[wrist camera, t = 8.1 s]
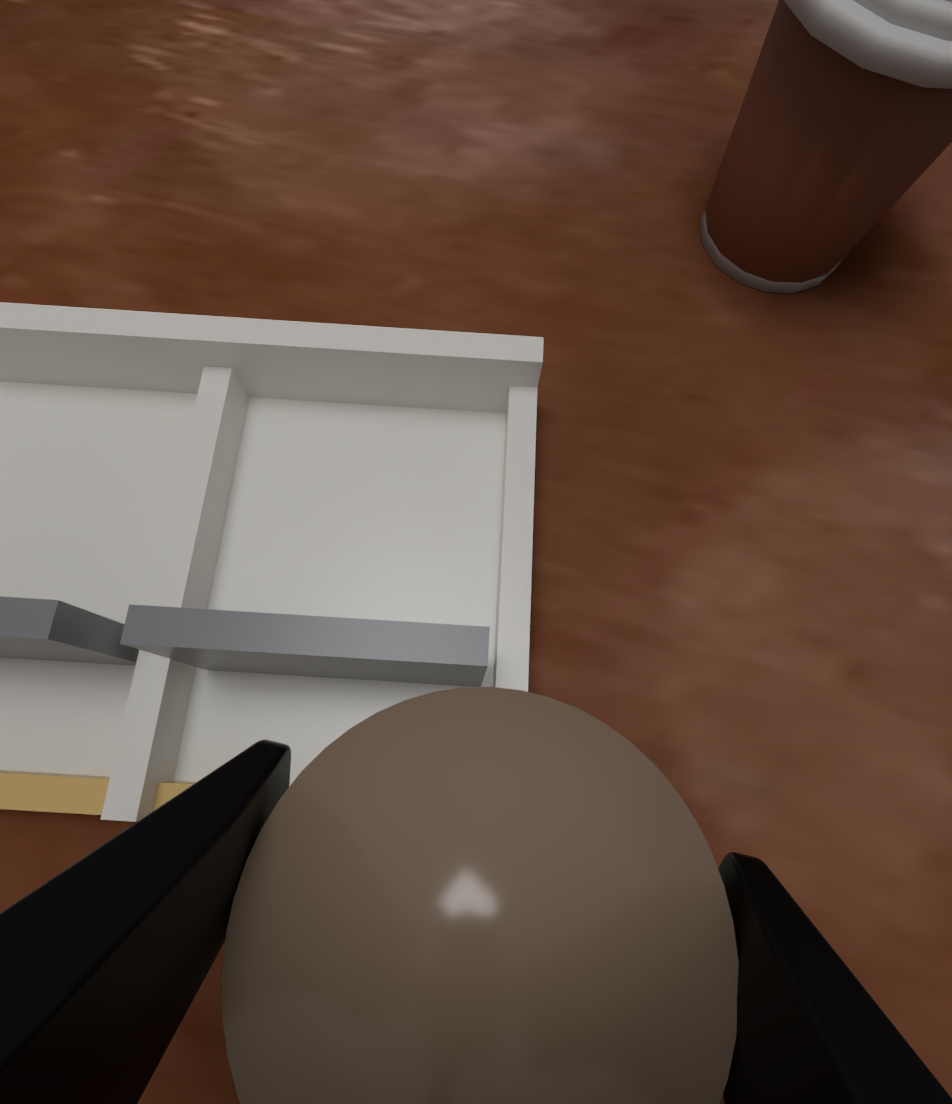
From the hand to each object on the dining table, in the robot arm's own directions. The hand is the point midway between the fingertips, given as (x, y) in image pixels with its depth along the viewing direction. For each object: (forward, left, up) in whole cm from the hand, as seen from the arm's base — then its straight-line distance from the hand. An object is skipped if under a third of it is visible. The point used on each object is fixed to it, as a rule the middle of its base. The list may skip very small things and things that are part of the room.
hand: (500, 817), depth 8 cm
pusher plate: (-3, +5, -12) cm, 13 cm away
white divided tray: (-6, +10, -12) cm, 17 cm away
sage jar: (-1, -1, -7) cm, 7 cm away
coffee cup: (+22, +15, -13) cm, 29 cm away
